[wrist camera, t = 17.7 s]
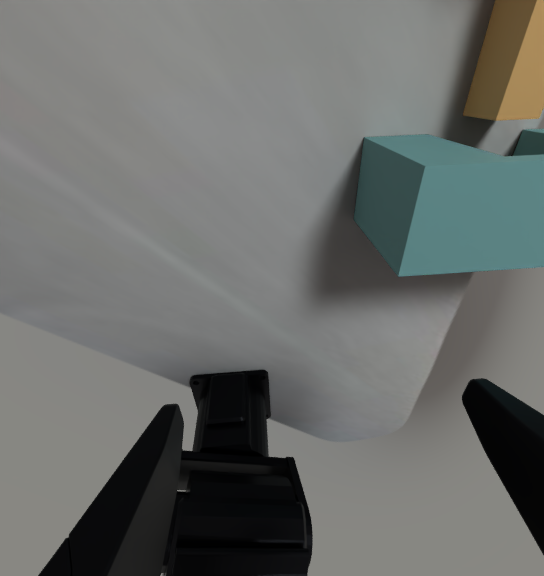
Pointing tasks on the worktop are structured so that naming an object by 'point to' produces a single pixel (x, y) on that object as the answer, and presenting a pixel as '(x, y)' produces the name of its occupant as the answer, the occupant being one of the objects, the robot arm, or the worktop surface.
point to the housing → (452, 204)
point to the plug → (510, 64)
